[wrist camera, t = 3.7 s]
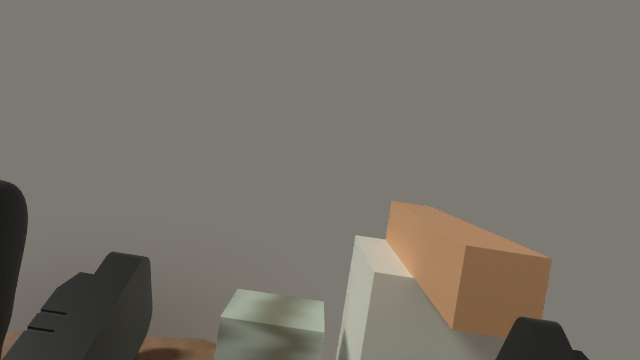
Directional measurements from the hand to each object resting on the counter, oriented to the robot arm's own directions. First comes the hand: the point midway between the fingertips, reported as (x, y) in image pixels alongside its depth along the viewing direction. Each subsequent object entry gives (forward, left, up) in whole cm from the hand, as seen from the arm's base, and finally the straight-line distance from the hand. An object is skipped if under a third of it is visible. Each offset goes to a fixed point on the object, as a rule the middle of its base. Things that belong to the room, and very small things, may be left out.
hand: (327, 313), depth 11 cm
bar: (+2, +26, -4) cm, 26 cm away
